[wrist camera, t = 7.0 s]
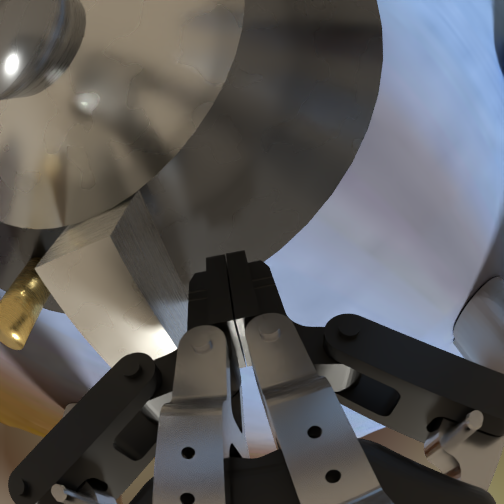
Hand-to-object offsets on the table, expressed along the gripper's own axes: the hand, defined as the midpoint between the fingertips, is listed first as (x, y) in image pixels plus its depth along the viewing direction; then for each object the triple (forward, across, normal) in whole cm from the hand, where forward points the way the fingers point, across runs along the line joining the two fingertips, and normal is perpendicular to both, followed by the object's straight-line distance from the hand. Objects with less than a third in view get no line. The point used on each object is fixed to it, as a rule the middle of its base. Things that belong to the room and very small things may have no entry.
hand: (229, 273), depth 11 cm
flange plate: (+1, +5, -8) cm, 9 cm away
